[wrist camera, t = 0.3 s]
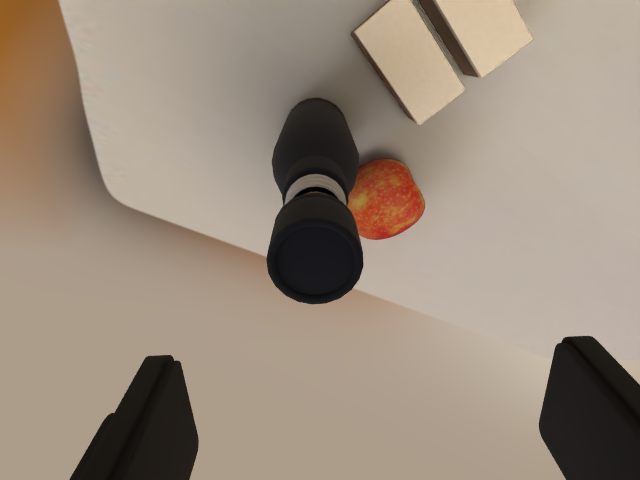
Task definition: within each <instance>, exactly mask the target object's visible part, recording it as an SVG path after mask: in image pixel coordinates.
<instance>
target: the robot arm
mask: <svg viewBox="0 0 640 480" xmlns="http://www.w3.org/2000/svg"><path fill="white" fill-rule="evenodd" d="M539 430H540V434H541V437H542V439H543V440H544V442H545V444H546V446H547V447H548V449H549V451H550V453H551V454H552V456H553V458H554V459H555V461H556V463H557V464H558V466H559V468H560V470H561V471H562V473H563V475H564V476H565V478H566V480H640V385H639V384H638V383H637V382H636V381H635V380H634V378H633V377H631V375H630V374H628V372H627V371H626V370H625V369H624V368H623V367H622V366H621V365H620V364H619V363H618V362H617V361H616V360H615V359H614V358H613V357H612V356H611V355H610V354H609V353H608V352H607V351H606V350H605V348H604V347H603V346H602V345H601V344H600V343H599V342H598V341H597V340H596V339H595V338H593V337H591V336H575V337H565V338H564V339H563V340H562V342H561V343H559V344H557V345H556V347H555V351H554V356H553V360H552V365H551V369H550V374H549V379H548V383H547V388H546V393H545V397H544V402H543V406H542V411H541V415H540V420H539ZM197 452H198V435H197V430H196V426H195V422H194V417H193V413H192V409H191V405H190V401H189V396H188V392H187V387H186V383H185V379H184V375H183V370H182V366H181V363H180V361H174V359H173V357H172V356H171V355H161V356H148V357H146V358H145V360H144V361H143V363H142V365H141V367H140V368H139V370H138V372H137V374H136V375H135V377H134V379H133V381H132V383H131V384H130V386H129V388H128V390H127V392H126V393H125V395H124V397H123V399H122V400H121V402H120V404H119V406H118V408H117V409H116V411H115V413H111V414H109V415H108V416H107V417H106V419H105V420H104V421H103V423H102V424H101V426H100V428H99V429H98V431H97V433H96V435H95V436H94V438H93V440H92V442H91V444H90V445H89V447H88V449H87V450H86V452H85V454H84V456H83V457H82V459H81V461H80V462H79V464H78V466H77V468H76V469H75V471H74V473H73V474H72V476H71V478H70V480H189V479H190V476H191V472H192V469H193V466H194V462H195V459H196V455H197Z"/></svg>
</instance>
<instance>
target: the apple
mask: <svg viewBox="0 0 640 480" xmlns="http://www.w3.org/2000/svg"><path fill="white" fill-rule="evenodd" d="M348 198H349V202H348V205H347V207H348V208H349V209H350V211H351V212H352V214H353V217H354V219H355V221H356V224H357V229H358V233H359V235H360V236H362V237H364V238H367V239H372V240H379V239H385V238H390V237H393V236H395V235H398V234H400V233H402V232H403V231H405V230H407V229H408V228H410V227H411V226H412V225H414V224H415V223H416V222H417V221H418V220H419V219H420V217H421V216H422V214H423V212H424V209H425V201H424V198H423V196H422V194H421V192H420V190H419V188H418V187H417V185H416V184H415V182H414V180H413V178H412V175H411V173H410V171H409V169H408V167H407V166H406V165H405V164H404V163H402V162H400V161H398V160H394V159H379V160H375V161H372V162H369V163H366V164H365V165H363V166H361V167H359V171H358V175H357V179H356V182H355V185H354V187H353V189H352V191H351V192H350V194H349V195H348Z"/></svg>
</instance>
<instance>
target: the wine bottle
mask: <svg viewBox="0 0 640 480" xmlns="http://www.w3.org/2000/svg"><path fill="white" fill-rule="evenodd" d="M272 166H273V174H274V178H275V181H276V183H277V185H278V187H279V189H280V191H281V194H282V195H283V196H282V199H283V207H282V209H281V210H280V212H279V214H278V215H277V217H276V220H275V224H274V228H273V232H272V236H271V241H270V245H269V249H268V254H267V267H268V273H269V275H270V277H271V279H272V281H273V283H274V284H275V286H276V287H277V288H278V289H279V290H280V291H281V292H283V293H284V294H285V295H286V296H288V297H290V298H292V299H294V300H296V301H298V302H303V303H308V304H322V303H328V302H331V301H334V300H337V299H339V298H341V297H342V296H344V295H345V294H346V293H348V292H349V291H350V290H352V288H353V287H354V285H355V284H356V283H357V281H358V280H359V278H360V275H361V272H362V269H363V251H362V246H361V242H360V238H359V233H358V229H357V224H356V221H355V219H354V217H353V214H352V212H351V211H350V209H349V208H348V207H347V205H348V202H349V198H348V195H349V194H350V192H351V191H352V189H353V187H354V185H355V182H356V179H357V175H358V171H359V153H358V151H357V148H356V146H355V143H354V140H353V138H352V135H351V133H350V130H349V128H348V125H347V123H346V120H345V118H344V115H343V113H342V112H341V111H340V109H339V108H338V107H337V106H336V105H335V104H333V103H332V102H330V101H328V100H325V99H321V98H311V99H307V100H304V101H302V102H300V103H298V104H297V105H296V106H295V107H294V108H293V109H292V110H291V112H290V114H289V116H288V117H287V119H286V122H285V124H284V127H283V129H282V131H281V134H280V136H279V138H278V141H277V143H276V146H275V148H274V153H273V158H272Z"/></svg>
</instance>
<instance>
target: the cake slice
mask: <svg viewBox="0 0 640 480" xmlns="http://www.w3.org/2000/svg"><path fill="white" fill-rule="evenodd" d="M419 2H420V3H421V5H422V7H423V8H424V10H425V12H426V13H427V15H428V16H429V18H430V20H431V21H432V23H433V25H434V26H435V28H436V30H437V31H438V33H439V34H440V36H441V38H442V39H443V41H444V43H445V44H446V46H447V48H448V49H449V51H450V52H451V54H452V56H453V57H454V59H455V61H456V62H457V64H458V66H459V67H460V69H461V70H462V72H463V74H464V75H468V76H474V77H479V78H483V77H484V76H485V75H487V74H488V73H489V72H491V71H492V70H493V69H495V68H496V67H497V66H499V65H500V64H501V63H503V62H504V61H505V60H507V59H508V58H509V57H511V56H512V55H513V54H514V53H516V52H517V51H518V50H520V49H521V48H522V47H524V46H525V45H526V44H528V43H529V42H530V41H532V40H533V38H532V36H531V34H530V32H529V30H528V28H527V26H526V25H525V23H524V21H523V19H522V17H521V15H520V13H519V11H518V9H517V8H516V6H515V4H514V2H513V0H419Z"/></svg>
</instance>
